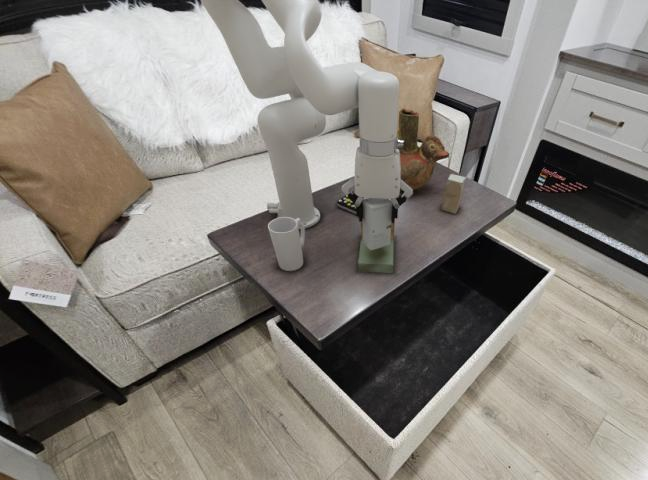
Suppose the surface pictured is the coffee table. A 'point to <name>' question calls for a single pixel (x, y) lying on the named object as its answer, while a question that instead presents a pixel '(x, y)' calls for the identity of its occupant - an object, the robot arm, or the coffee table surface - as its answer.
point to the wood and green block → (376, 256)
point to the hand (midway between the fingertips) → (377, 219)
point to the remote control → (346, 204)
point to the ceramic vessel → (417, 151)
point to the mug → (287, 242)
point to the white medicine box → (377, 222)
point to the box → (453, 193)
